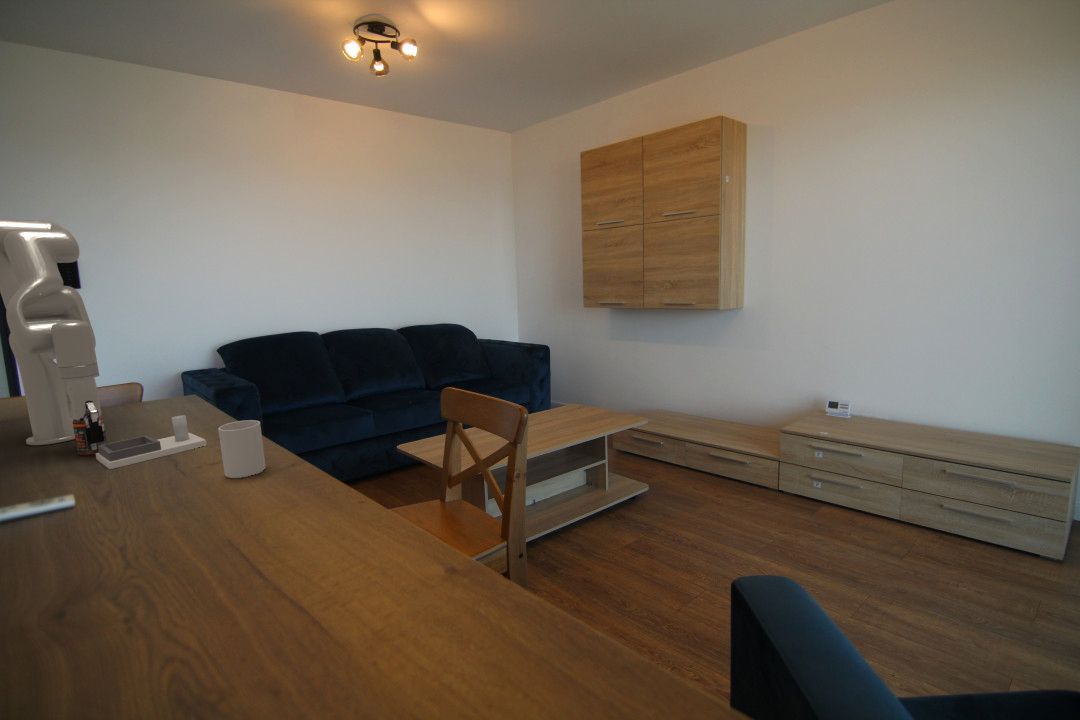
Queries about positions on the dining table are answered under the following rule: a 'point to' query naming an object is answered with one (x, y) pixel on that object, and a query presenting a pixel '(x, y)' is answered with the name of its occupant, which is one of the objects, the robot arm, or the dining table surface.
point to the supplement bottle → (81, 438)
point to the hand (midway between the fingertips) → (91, 439)
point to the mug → (242, 448)
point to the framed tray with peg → (149, 446)
